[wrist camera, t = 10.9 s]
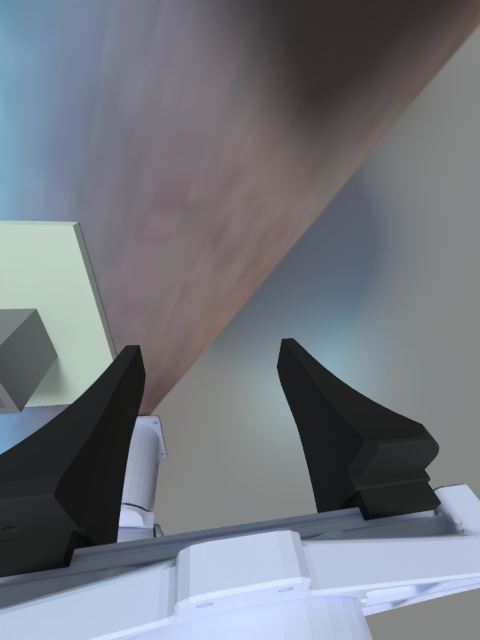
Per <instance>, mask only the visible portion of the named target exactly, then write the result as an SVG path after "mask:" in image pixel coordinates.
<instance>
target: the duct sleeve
mask: <svg viewBox="0 0 480 640" xmlns="http://www.w3.org/2000/svg"><path fill="white" fill-rule="evenodd" d="M57 356H58V355H57V353H56V350H55V348H54V346H53V344H52V342H51V339H50V337H49V335H48V333H47V331H46V328H45V326H44V324H43V322H42V320H41V317H40V315H39V313H38V311H37V309H36V308H31V309H0V414H10V413H21V411H22V410H23V408H24V407H25V405H26V404H27V402H28V401H29V399H30V398H31V396H32V395H33V393H34V392H35V390H36V389H37V387H38V385H39V384H40V382H41V381H42V379H43V378H44V376H45V375H46V373H47V372H48V370H49V369H50V367H51V366H52V364H53V363H54V361H55V360H56V358H57Z"/></svg>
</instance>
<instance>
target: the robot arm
mask: <svg viewBox="0 0 480 640" xmlns="http://www.w3.org/2000/svg"><path fill="white" fill-rule="evenodd" d="M277 369H278V374H279V379H280V382H281V386H282V388H283V391H284V394H285V396H286V399H287V401H288V404H289V406H290V409H291V412H292V414H293V417H294V420H295V422H296V425H297V428H298V432H299V435H300V439H301V442H302V446H303V450H304V454H305V458H306V461H307V466H308V470H309V474H310V479H311V483H312V487H313V492H314V497H315V502H316V507H317V511H318V513H316V514H309V515H303V516H296V517H289V518H283V519H276V520H269V521H262V522H255V523H249V524H241V525H235V526H228V527H221V528H215V529H208V530H201V531H194V532H187V533H181V534H174V535H167V536H164V534H163V532H162V530H161V527H160V525H159V524H154V519H155V513H154V512H152V510H153V506H154V499H155V491H156V482H157V474H158V465H159V460H165V459H166V458H167V453H166V448H165V442H164V437H163V432H162V427H161V422H160V417H159V416H157V415H150V416H138V412H139V409H140V405H141V401H142V397H143V393H144V386H145V377H146V374H145V369H144V364H143V359H142V355H141V350H140V345H129V346H125V347H124V349H123V350H122V351H121V352H120V353H119V355H118V356H117V357H116V358H115V359H114V361H113V362H112V363H111V364H110V365H109V366H108V368H107V369H106V370H105V371H104V372H103V373H102V374H101V375H100V377H99V378H98V379H97V380H96V381H95V382H94V383H93V384H92V385H91V386H90V387H89V388H88V389H87V390H86V391H85V392H84V393H83V394H82V395H81V396H80V397H79V398H77V399H76V400H75V401H74V402H73V403H72V404H71V405H70V406H68V407H67V408H66V409H65V410H64V411H62V412H61V413H60V414H59V415H57V416H56V417H55V418H53V419H52V420H51V421H49V422H48V423H47V424H46V425H44V426H43V427H42V428H40V429H39V430H37V431H36V432H34V433H33V434H32V435H30V436H29V437H27V438H26V439H24V440H23V441H21V442H20V443H18V444H17V445H15V446H14V447H12V448H10V449H9V450H7V451H6V452H4V453H2V454H1V455H0V640H373V639H372V637H371V634H370V631H369V628H368V625H367V623H366V620H365V617H364V616H367V615H371V614H375V613H379V612H383V611H386V610H390V609H394V608H398V607H402V606H406V605H410V604H414V603H418V602H422V601H426V600H429V599H433V598H438V597H442V596H446V595H450V594H454V593H459V592H462V591H467V590H472V589H476V588H480V501H479V500H478V499H477V497H476V496H475V495H474V493H473V492H472V491H471V490H470V489H469V487H468V486H467V485H466V484H464V483H462V484H454V485H447V486H441V487H438V488H436V489H434V490H432V488H431V487H430V485H429V484H428V481H430V477H429V476H428V474H427V473H426V471H425V469H426V467H427V466H428V465H429V464H430V463H431V462H432V461H433V460H434V459H435V457H436V456H437V454H438V451H439V445H438V444H437V442H436V441H435V440H434V438H433V437H432V436H431V435H430V434H429V432H428V431H427V430H426V429H425V427H424V426H423V425H422V424H420V423H418V422H416V421H413V420H411V419H409V418H407V417H404V416H402V415H400V414H397V413H395V412H393V411H391V410H389V409H388V408H386V407H383V406H382V405H380V404H378V403H376V402H374V401H372V400H371V399H369V398H367V397H366V396H364V395H362V394H361V393H359V392H357V391H356V390H354V389H353V388H351V387H350V386H348V385H347V384H346V383H344V382H343V381H341V380H340V379H339V378H337V377H336V376H335V375H333V374H332V373H331V372H330V371H328V370H327V369H326V368H325V367H323V366H322V365H321V364H320V363H319V362H318V361H317V360H316V359H315V358H313V357H312V356H311V355H310V354H309V353H308V352H307V351H306V350H305V349H304V348H303V347H302V346H301V345H300V344H299V343H298V342H296V340H294V339H293V338H288V339H282V342H281V347H280V353H279V358H278V364H277ZM137 416H138V417H137Z"/></svg>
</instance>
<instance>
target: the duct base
mask: <svg viewBox="0 0 480 640" xmlns="http://www.w3.org/2000/svg"><path fill="white" fill-rule="evenodd" d="M31 308H36V309H37V311H38V313H39V315H40V317H41V320H42V322H43V324H44V326H45V328H46V331H47V333H48V335H49V337H50V339H51V342H52V344H53V346H54V348H55V350H56V353H57V355H58V356H57V358H56V360H55V361H54V363H53V364H52V366H51V367H50V369H49V370H48V372H47V373H46V375H45V376H44V378H43V379H42V381H41V382H40V384H39V385H38V387H37V389H36V390H35V392H34V393H33V395H32V396H31V398H30V399H29V401H28V402H27V404H26V405H25V407H34V406H48V405H61V404H72V403H73V402H74V401H75V400H76V399H77V398H79V397H80V396H81V395H82V394H83V393H84V392H85V391H86V390H87V389H88V388H89V387H90V386H91V385H92V384H93V383H94V382H95V381H96V380H97V379H98V378H99V377H100V375H101V374H102V373H103V372H104V371H105V370H106V369H107V368H108V366H109V365H110V364H111V363H112V362H113V361H114V359H115V358H116V357H117V356H116V353H115V349H114V346H113V342H112V339H111V335H110V332H109V328H108V325H107V321H106V318H105V314H104V311H103V307H102V304H101V300H100V296H99V293H98V289H97V286H96V282H95V279H94V275H93V272H92V268H91V265H90V261H89V258H88V254H87V251H86V247H85V244H84V240H83V237H82V233H81V230H80V226H79V223H78V222H51V221H3V220H0V309H31Z"/></svg>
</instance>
